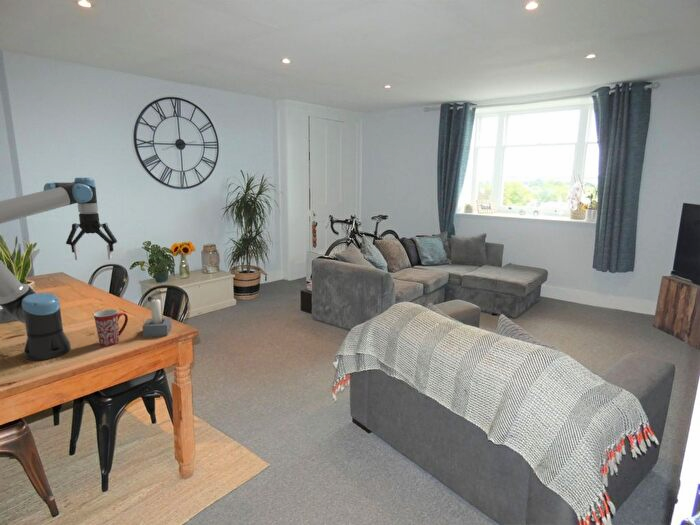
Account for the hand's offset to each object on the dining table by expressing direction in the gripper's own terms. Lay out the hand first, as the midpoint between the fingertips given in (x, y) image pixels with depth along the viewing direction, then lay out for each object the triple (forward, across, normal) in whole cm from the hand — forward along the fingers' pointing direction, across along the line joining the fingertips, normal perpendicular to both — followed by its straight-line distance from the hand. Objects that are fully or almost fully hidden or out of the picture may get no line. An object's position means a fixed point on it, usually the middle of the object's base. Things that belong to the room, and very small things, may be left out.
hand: (94, 259), depth 193 cm
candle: (+31, -28, +15) cm, 44 cm away
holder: (+32, -28, +15) cm, 45 cm away
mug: (+32, -12, +23) cm, 41 cm away
